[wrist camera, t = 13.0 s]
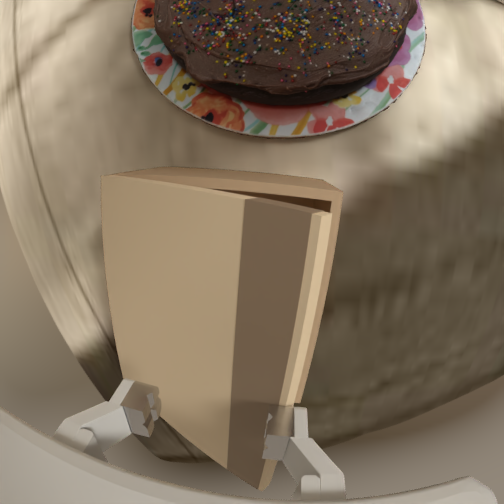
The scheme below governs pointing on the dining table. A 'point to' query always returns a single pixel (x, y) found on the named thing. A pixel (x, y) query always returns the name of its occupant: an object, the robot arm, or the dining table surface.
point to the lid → (213, 307)
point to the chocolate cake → (280, 60)
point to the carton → (272, 188)
